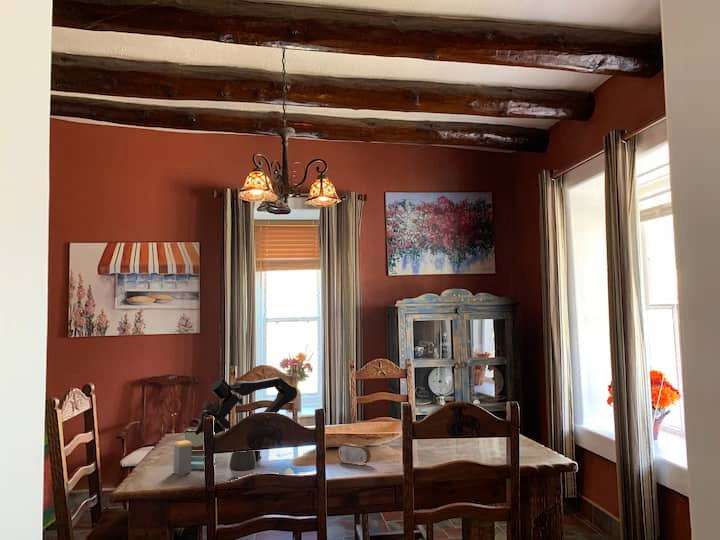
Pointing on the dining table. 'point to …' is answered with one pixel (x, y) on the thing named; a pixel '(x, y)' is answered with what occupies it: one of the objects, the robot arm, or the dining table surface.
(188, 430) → the food container
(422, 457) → the dining table surface
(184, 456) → the caddy
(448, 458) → the dining table surface
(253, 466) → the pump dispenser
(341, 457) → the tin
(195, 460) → the tray
